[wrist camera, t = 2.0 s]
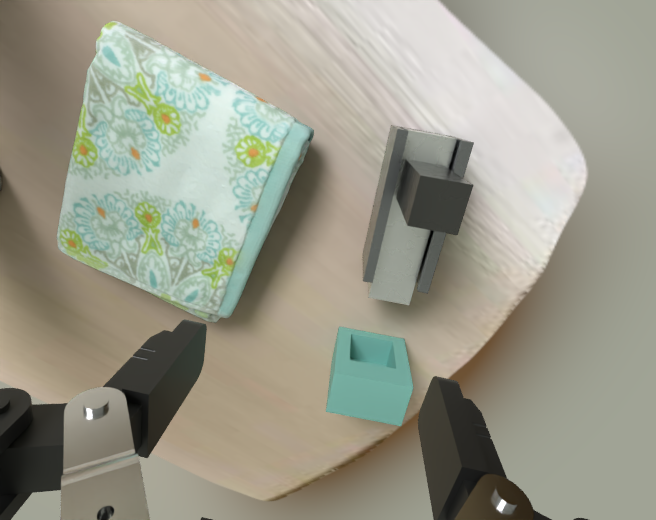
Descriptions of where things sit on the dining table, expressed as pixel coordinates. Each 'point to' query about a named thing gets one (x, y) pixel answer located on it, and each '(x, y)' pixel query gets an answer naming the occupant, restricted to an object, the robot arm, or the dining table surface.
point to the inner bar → (418, 213)
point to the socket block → (369, 377)
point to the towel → (174, 174)
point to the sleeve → (385, 199)
